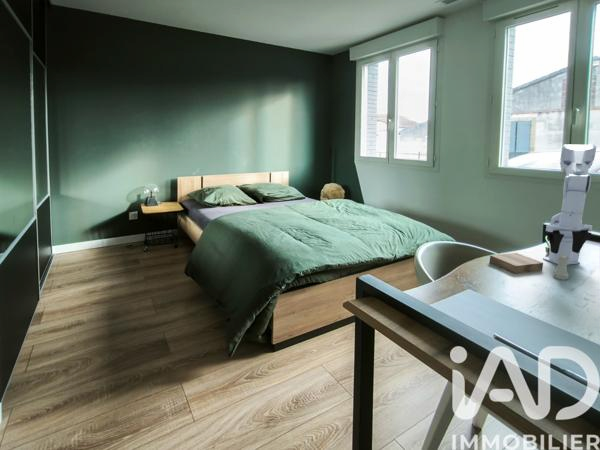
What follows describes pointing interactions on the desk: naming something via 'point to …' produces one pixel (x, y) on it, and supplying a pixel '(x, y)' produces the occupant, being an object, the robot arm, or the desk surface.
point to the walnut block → (516, 263)
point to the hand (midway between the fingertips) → (564, 252)
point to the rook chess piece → (561, 268)
